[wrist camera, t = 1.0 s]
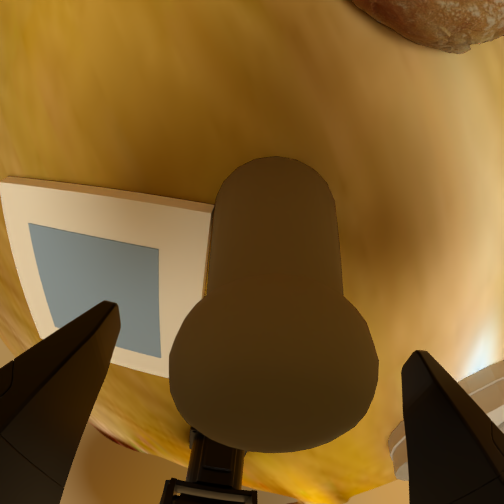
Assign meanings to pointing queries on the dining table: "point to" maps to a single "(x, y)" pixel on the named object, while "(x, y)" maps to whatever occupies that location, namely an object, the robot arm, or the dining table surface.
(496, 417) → the dish
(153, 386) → the dining table surface
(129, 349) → the plate
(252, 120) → the dining table surface
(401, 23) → the bread roll
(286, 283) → the cork
